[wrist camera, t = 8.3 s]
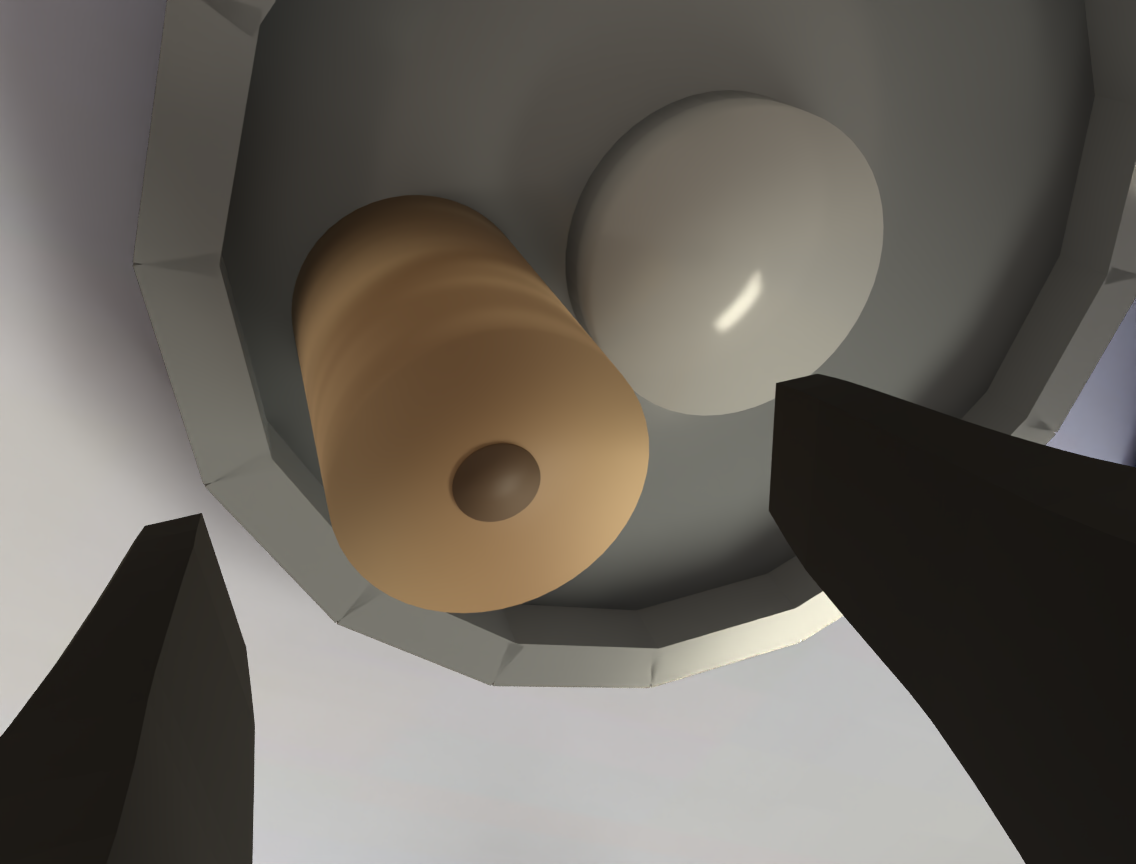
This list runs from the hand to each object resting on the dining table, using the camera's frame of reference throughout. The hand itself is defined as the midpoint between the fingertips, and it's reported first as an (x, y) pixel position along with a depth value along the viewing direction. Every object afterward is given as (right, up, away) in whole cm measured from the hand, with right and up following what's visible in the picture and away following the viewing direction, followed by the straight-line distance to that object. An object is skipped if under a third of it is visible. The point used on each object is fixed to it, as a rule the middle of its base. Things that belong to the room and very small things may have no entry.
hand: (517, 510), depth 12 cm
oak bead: (-2, +3, +6) cm, 7 cm away
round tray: (+3, +5, +8) cm, 10 cm away
